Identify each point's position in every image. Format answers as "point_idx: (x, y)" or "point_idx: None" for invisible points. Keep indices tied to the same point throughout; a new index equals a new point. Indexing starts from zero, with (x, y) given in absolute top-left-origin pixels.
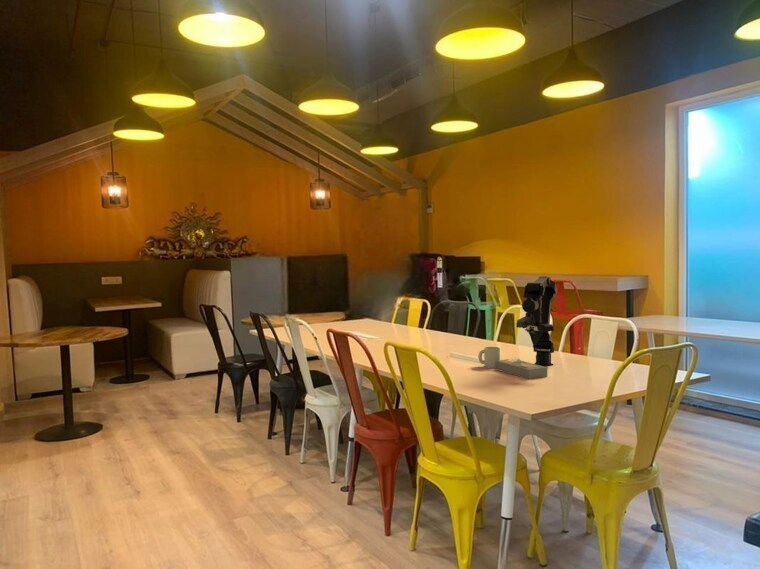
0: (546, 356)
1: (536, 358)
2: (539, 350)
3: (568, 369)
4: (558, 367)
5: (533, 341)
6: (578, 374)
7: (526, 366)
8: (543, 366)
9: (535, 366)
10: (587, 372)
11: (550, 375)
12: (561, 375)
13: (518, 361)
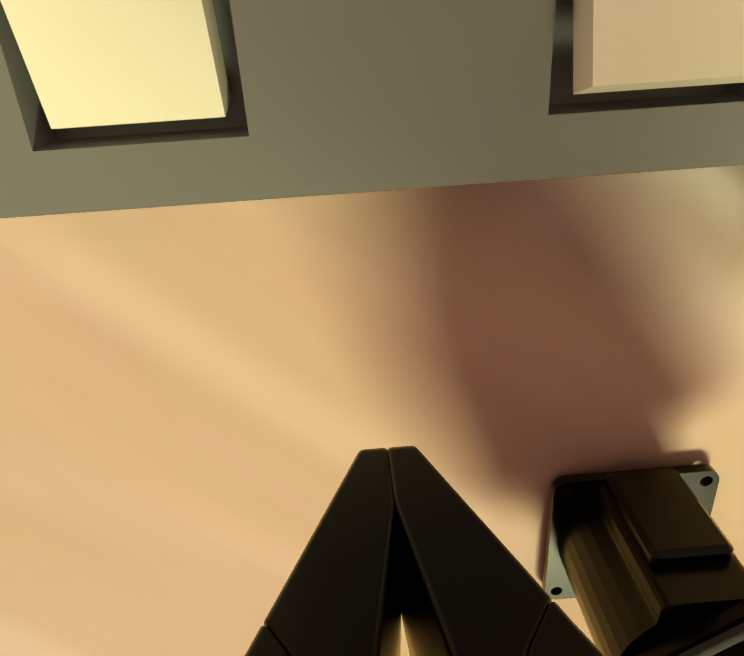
0: (598, 611)
1: (694, 514)
2: (738, 641)
3: None
4: None
5: (370, 515)
6: (43, 549)
7: None
8: (18, 212)
9: (24, 58)
10: (110, 650)
11: (68, 266)
12: (35, 381)
13: (578, 44)
